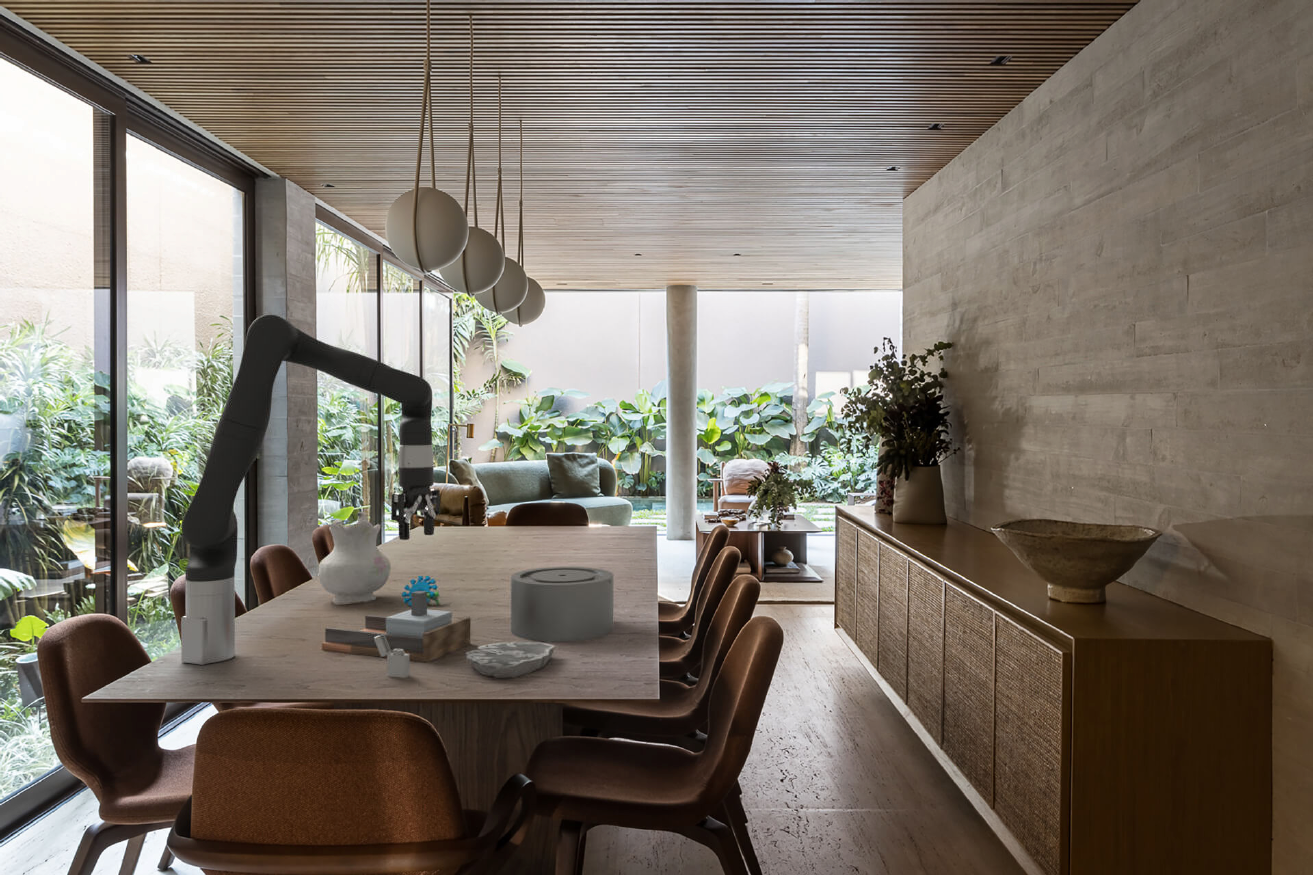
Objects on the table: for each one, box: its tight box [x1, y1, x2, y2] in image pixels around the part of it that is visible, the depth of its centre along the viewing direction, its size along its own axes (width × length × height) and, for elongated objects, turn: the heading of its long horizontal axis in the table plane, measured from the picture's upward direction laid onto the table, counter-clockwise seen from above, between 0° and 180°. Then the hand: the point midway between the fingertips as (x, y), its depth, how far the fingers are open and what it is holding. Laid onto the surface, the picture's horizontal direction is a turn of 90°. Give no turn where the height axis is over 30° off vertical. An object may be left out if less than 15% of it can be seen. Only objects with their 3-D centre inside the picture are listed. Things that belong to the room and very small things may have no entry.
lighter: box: [374, 634, 411, 679], centre depth 161 cm, size 7×2×8 cm, turn 75°
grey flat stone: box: [464, 640, 555, 679], centre depth 168 cm, size 20×17×3 cm
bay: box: [321, 614, 471, 663], centre depth 183 cm, size 16×28×6 cm, turn 69°
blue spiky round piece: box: [401, 574, 440, 607], centre depth 229 cm, size 11×6×10 cm
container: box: [510, 566, 614, 643], centre depth 199 cm, size 25×25×13 cm
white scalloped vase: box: [317, 510, 392, 606], centre depth 234 cm, size 22×20×25 cm
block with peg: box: [385, 591, 453, 638], centre depth 181 cm, size 10×10×11 cm
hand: (417, 537), depth 183 cm, fingers open, 8 cm apart
